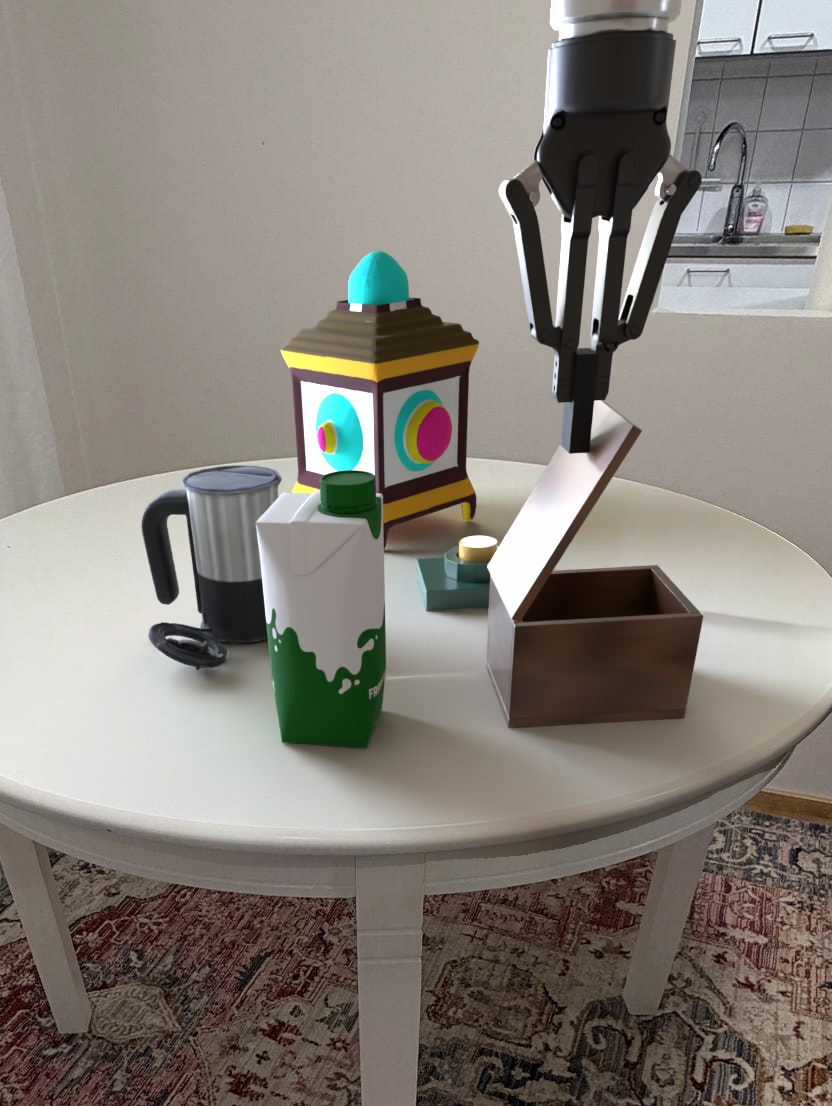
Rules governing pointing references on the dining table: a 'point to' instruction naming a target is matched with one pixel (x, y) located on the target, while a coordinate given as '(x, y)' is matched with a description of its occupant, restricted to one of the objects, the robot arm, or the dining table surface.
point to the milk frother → (212, 559)
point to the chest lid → (559, 509)
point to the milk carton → (326, 609)
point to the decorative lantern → (384, 396)
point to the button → (477, 548)
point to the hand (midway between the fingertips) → (574, 448)
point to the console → (453, 582)
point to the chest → (594, 649)
